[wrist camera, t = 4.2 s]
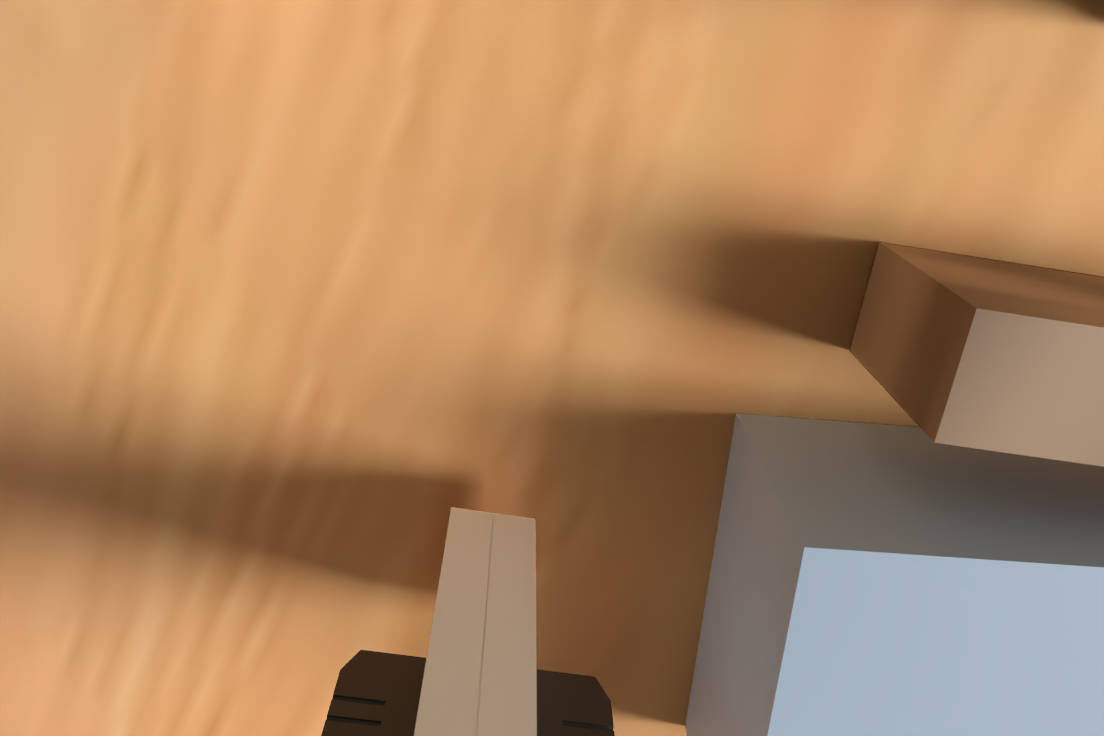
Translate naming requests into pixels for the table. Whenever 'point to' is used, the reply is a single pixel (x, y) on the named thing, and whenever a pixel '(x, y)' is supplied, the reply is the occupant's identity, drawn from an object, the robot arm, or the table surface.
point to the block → (899, 588)
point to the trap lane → (988, 351)
